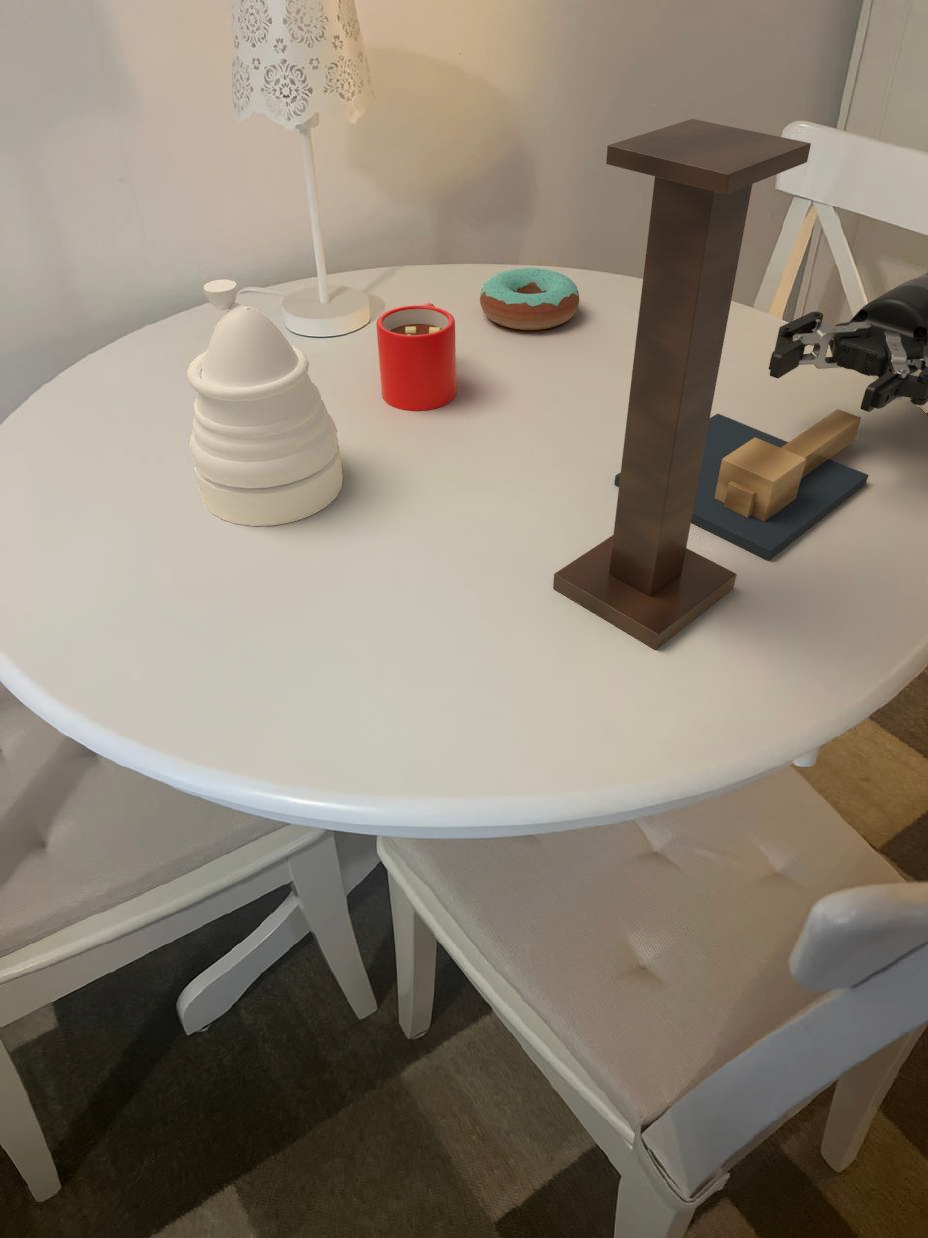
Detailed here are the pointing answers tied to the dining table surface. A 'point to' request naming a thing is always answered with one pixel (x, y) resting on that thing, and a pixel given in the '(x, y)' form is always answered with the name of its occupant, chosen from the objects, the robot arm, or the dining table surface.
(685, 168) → the brown pedestal stand
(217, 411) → the honey pot
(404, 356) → the mug
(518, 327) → the donut
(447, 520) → the dining table surface
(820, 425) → the light wood mallet shape
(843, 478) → the mat
